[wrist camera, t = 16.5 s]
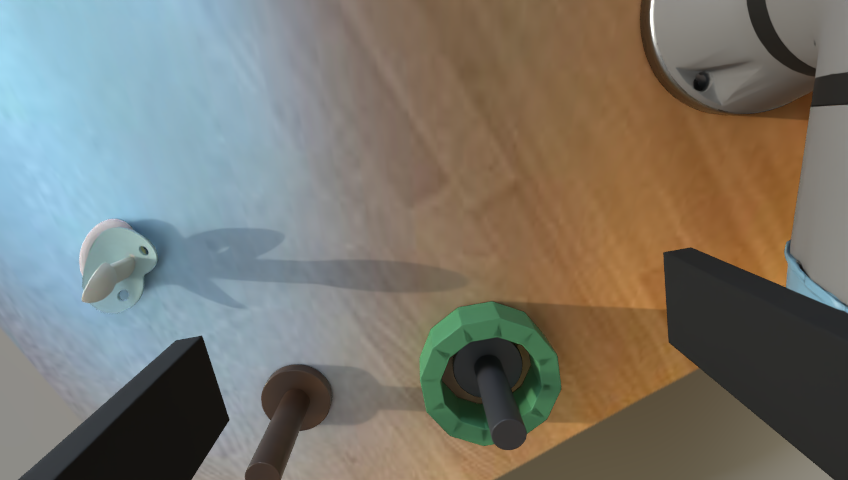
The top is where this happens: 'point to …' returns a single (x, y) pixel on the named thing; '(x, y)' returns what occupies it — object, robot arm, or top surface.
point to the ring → (479, 325)
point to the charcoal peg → (493, 386)
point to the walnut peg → (288, 416)
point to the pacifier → (114, 265)
